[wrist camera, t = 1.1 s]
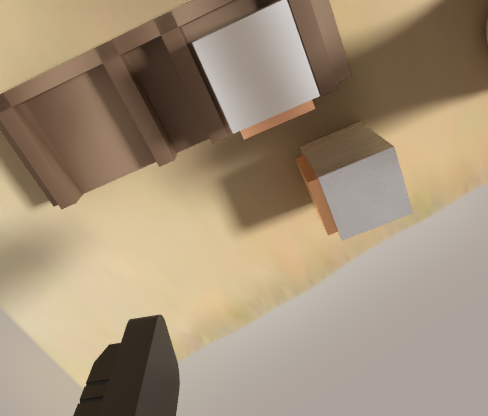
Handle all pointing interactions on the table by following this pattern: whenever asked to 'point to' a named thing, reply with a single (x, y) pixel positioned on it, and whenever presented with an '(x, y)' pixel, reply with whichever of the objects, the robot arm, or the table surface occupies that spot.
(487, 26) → the plastic bottle
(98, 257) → the table surface
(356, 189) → the wood-topped grey cube
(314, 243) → the table surface
